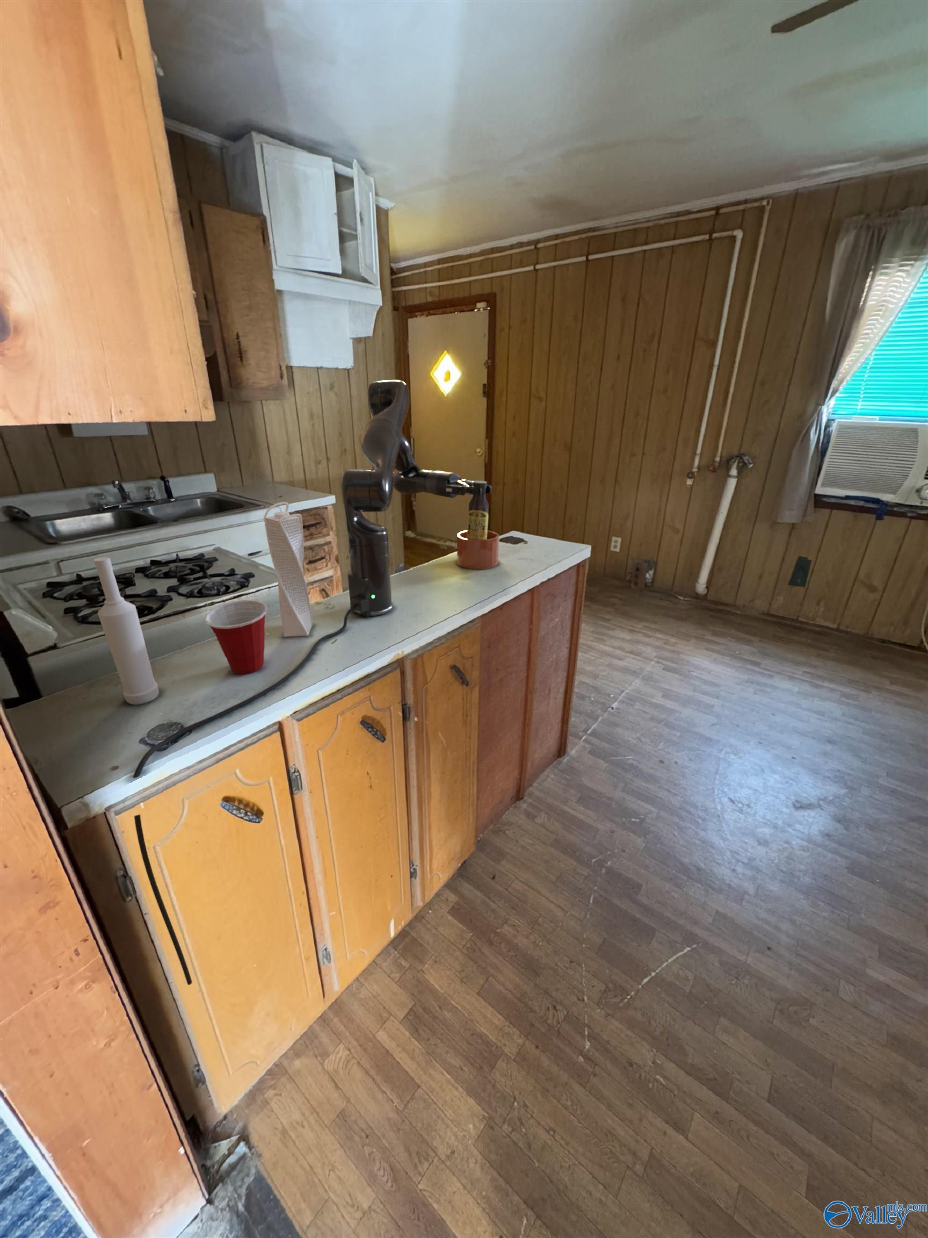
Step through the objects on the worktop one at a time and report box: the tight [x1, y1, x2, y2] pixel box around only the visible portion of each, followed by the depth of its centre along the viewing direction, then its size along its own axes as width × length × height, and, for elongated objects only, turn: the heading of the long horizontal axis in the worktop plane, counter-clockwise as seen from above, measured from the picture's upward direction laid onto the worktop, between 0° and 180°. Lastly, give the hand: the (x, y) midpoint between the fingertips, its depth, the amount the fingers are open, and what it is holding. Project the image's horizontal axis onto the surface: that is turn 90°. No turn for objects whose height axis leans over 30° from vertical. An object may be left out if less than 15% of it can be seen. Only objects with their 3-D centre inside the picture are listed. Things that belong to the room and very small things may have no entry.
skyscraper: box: [263, 501, 314, 638], centre depth 106 cm, size 8×8×28 cm
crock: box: [456, 530, 500, 570], centre depth 156 cm, size 13×13×9 cm
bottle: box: [93, 556, 160, 706], centre depth 82 cm, size 5×5×25 cm
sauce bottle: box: [466, 480, 490, 540], centre depth 152 cm, size 6×6×20 cm
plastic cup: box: [203, 599, 268, 675], centre depth 94 cm, size 11×11×12 cm
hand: (486, 490), depth 147 cm, fingers closed on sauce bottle, 4 cm apart
